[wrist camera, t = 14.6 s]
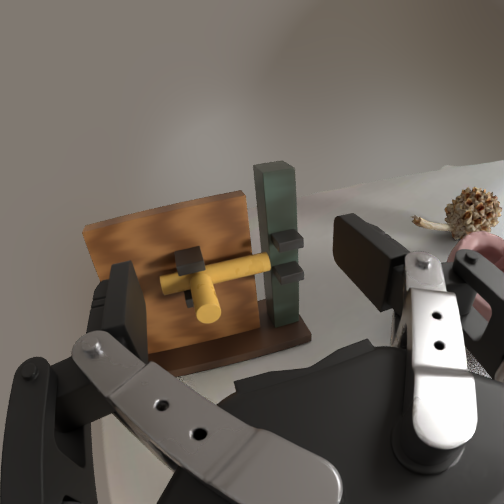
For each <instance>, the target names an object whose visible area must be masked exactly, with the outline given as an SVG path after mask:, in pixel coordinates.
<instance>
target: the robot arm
mask: <svg viewBox="0 0 504 504" xmlns="http://www.w3.org/2000/svg"><path fill="white" fill-rule="evenodd" d="M333 256H334V260H335V262H336V264H337V265H338V266H339V267H340V268H341V269H342V270H343V272H344V273H345V274H346V275H347V276H348V277H349V278H350V279H351V280H352V281H353V282H354V283H355V285H356V286H357V287H358V288H359V289H360V290H361V291H362V292H363V293H364V294H365V296H366V297H367V298H368V299H369V300H370V301H371V302H372V303H373V305H374V306H375V307H376V308H377V309H378V310H379V311H380V312H383V311H385V310H388V309H391V308H392V309H393V310H394V311H393V315H392V327H391V342H390V347H389V346H381V347H374V346H373V345H372V344H371V342H370V341H369V340H368V339H365V340H362V341H360V342H357V343H354V344H352V345H349V346H346V347H343V348H341V349H338V350H337V351H335V352H333V353H332V354H330V355H329V356H327V357H326V358H324V359H322V360H321V361H319V362H318V363H316V364H314V365H313V366H311V367H308V368H303V369H293V370H283V371H271V372H267V373H263V374H259V375H256V376H252V377H249V378H245V379H241V380H237V381H234V385H235V389H236V392H235V393H233V394H231V395H229V396H228V397H226V398H225V399H223V400H222V401H221V402H219V403H218V404H217V405H215V404H214V403H212V402H211V401H209V400H208V399H206V398H205V397H203V396H202V395H200V394H199V393H197V392H196V391H194V390H193V389H191V388H190V387H188V386H187V385H185V384H184V383H183V382H181V381H180V380H178V379H177V378H176V377H174V376H173V375H171V374H170V373H169V372H167V371H166V370H165V369H163V368H162V367H161V366H159V365H158V364H156V363H155V362H153V361H150V362H148V343H147V312H146V303H145V299H144V295H143V292H142V289H141V287H140V284H139V281H138V278H137V275H136V272H135V269H134V266H133V263H132V261H131V260H129V261H125V262H121V263H116V264H112V265H111V270H110V275H109V279H106V280H102V281H101V282H100V283H99V285H98V286H97V287H96V289H95V291H94V295H93V301H92V305H91V310H90V315H89V321H88V326H87V332H86V334H85V335H83V336H82V337H81V338H79V339H78V340H77V341H76V343H75V344H74V346H73V348H72V356H71V357H69V358H67V359H65V360H63V361H61V362H58V363H56V364H54V365H52V366H50V364H49V363H48V362H47V360H46V359H44V358H42V357H33V358H30V359H28V360H26V361H25V362H23V363H22V364H21V365H20V366H19V367H18V369H17V370H16V373H15V375H14V379H13V384H12V389H11V394H10V400H9V405H8V411H7V417H6V424H5V432H4V441H3V451H2V462H1V482H0V504H98V501H97V494H96V486H95V477H94V468H93V457H92V439H91V422H93V421H95V420H97V419H100V418H102V417H104V416H106V415H109V414H111V413H112V414H113V415H114V416H115V417H116V418H117V419H118V420H119V421H120V422H121V423H122V424H123V425H124V426H125V427H126V428H127V429H128V430H129V431H130V432H131V433H132V434H133V435H134V436H135V437H136V438H137V439H138V440H139V441H140V442H141V443H142V444H143V445H145V446H146V447H147V448H148V449H149V450H150V451H151V452H152V453H153V454H154V455H155V456H156V457H157V458H158V459H159V460H160V461H161V462H162V463H163V464H164V465H166V466H167V467H168V468H169V469H170V470H172V471H173V472H174V474H173V476H172V478H171V479H170V481H169V483H168V485H167V486H166V488H165V490H164V492H163V493H162V495H161V497H160V499H159V500H158V502H157V504H504V273H503V272H502V271H501V270H500V269H499V268H497V267H496V266H495V265H494V264H492V263H491V262H490V261H489V260H487V259H486V258H485V257H484V256H482V255H481V254H480V253H478V252H476V251H473V250H469V249H460V250H458V251H457V252H456V254H455V258H454V262H445V263H441V262H440V261H439V259H438V258H437V257H435V256H434V255H432V254H430V253H427V252H422V251H414V252H410V251H408V250H407V249H406V248H405V247H403V246H402V245H401V244H400V243H398V242H397V241H396V240H394V239H392V238H391V237H390V236H389V235H388V234H385V232H384V231H382V230H381V229H380V228H378V227H377V226H375V225H372V224H369V223H367V222H365V221H364V220H362V219H361V218H360V217H358V216H357V215H356V214H354V213H351V214H346V215H341V216H337V217H335V220H334V233H333ZM477 293H478V294H479V295H480V296H481V297H482V298H483V299H484V300H485V301H486V302H487V303H488V304H489V305H490V307H491V310H492V315H491V318H490V320H489V322H488V321H487V320H486V319H485V318H484V317H483V316H482V315H481V314H480V313H479V312H478V311H477V310H476V309H475V308H474V307H473V306H472V305H473V303H474V300H475V297H476V295H477ZM465 346H466V348H467V349H468V350H469V351H470V352H471V353H472V355H473V356H474V357H475V358H476V359H477V361H478V362H479V363H480V364H481V366H482V367H483V368H484V369H485V370H486V372H487V373H488V374H489V375H490V377H491V378H492V379H491V378H487V377H484V376H481V375H478V374H475V373H472V372H469V371H468V368H467V360H466V352H465Z"/></svg>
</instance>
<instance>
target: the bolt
mask: <svg viewBox="0 0 504 504" xmlns="http://www.w3.org/2000/svg"><path fill="white" fill-rule="evenodd" d="M205 268H206V270H205V271H200V272H196V273H192V274H187V275H183V276H178V272H175V273H171V274H166V275H162V276H160V283H161V288H162V291H163V294H164V295H168V294H173V293H177V292H181V291H186V290H190V289H191V294H192V299H193V304H194V309H195V313H196V317H197V319H198V320H199V321H200V322H202V323H213V322H215V321H216V320H218V319H219V317H220V316H221V308H220V305H219V302H218V299H217V296H216V292H215V289H214V286H213V284H216V283H220V282H224V281H229V280H233V279H237V278H241V277H245V276H249V275H254V274H258V273H262V272H266V271H270V269H271V265H270V260H269V256H268V254H267V253H266V252H262V253H258V254H253V255H249V256H245V257H240V258H236V259H232V260H227V261H223V262H219V263H214V264H210V265H206V266H205Z"/></svg>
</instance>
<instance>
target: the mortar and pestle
mask: <svg viewBox="0 0 504 504" xmlns="http://www.w3.org/2000/svg"><path fill="white" fill-rule="evenodd" d="M460 249H469V250H473V251H476V252H478V253H480V254H481V255H482V256H484V257H485V258H486V259H487V260H489V261H490V262H491V263H492V264H494V265H495V266H496V267H497V268H499V269H500V270H501V271H502V272H503V273H504V240H503V239H502V238H500V237H499V236H497V235H494V234H491V233H488V232H486V231H477V232H471V233H470V234H468V235H466V236H465V237H464V238H463V239H461V240H460V241H459V242H458V243H457V244H456V245H455V247H454V248H453V250H452V251H451V253H450V255H449V257H448V259H447V262H454V258H455V254H456V252H457V251H458V250H460ZM472 306H473V307H474V308H475V309H476V310H477V311H478V312H479V313H480V314H481V315H482V316H483V317H484V318H485V319H486V320H487V321H488V322H489V320H490V318H491V315H492V310H491V307H490V305H489V304H488V303H487V302H486V301H485V300H484V299H483V298H482V297H481V296H480V295H479V294H478V293H477V295H476V297H475V300H474V303H473V305H472Z"/></svg>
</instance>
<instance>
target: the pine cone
mask: <svg viewBox="0 0 504 504" xmlns="http://www.w3.org/2000/svg"><path fill="white" fill-rule="evenodd" d="M497 198H498V197H497V196H493V192H492V193H491V194H490V192H488V193H487V194H486V189H484V190H483V191H482V190H481V188H479V189H477V188H476V187H474V188H473V189H472V191H471V190H470V188H469V187H468V188H467V189H466V190H462V193H461V195H460V196H457V197H456V200H453V199H452V203H453V204H447V207H446V208H445V212H446V216H447V218H445V221H446V222H447V224H440V223H433V222H429V221H426V220H424V219H422V218H420V217H419V218H418V217H417V216H416V215H415V216H412V218H414V220H413V221H412V222H413V223H414V224H415V225H417V226H419V227H423V228H427V229H433V230H439V231H449V232H450V231H451V233H452V238H454V239H455V240H457V239H458V238H459V239H460V240H461V239H463V238H464V237H465V236H466V235H468V234H470V233H471V232H477V231H486V232H488V233H490V232H491V228H490V227H495V226H496V225H497V224H498V223H499V222H498V220H497V219H498V217H500V216H501V214H500V212H501V211H502V208H501V207H499V204H500V202H499V201H497Z"/></svg>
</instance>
